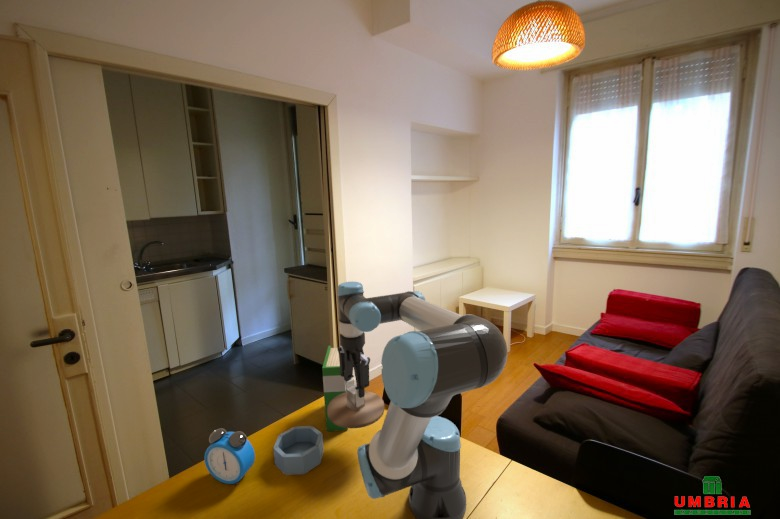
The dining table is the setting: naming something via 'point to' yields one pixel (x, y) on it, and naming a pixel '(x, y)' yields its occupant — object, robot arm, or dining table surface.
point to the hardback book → (332, 383)
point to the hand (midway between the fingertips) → (355, 401)
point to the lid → (355, 409)
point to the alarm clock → (229, 456)
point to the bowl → (298, 450)
